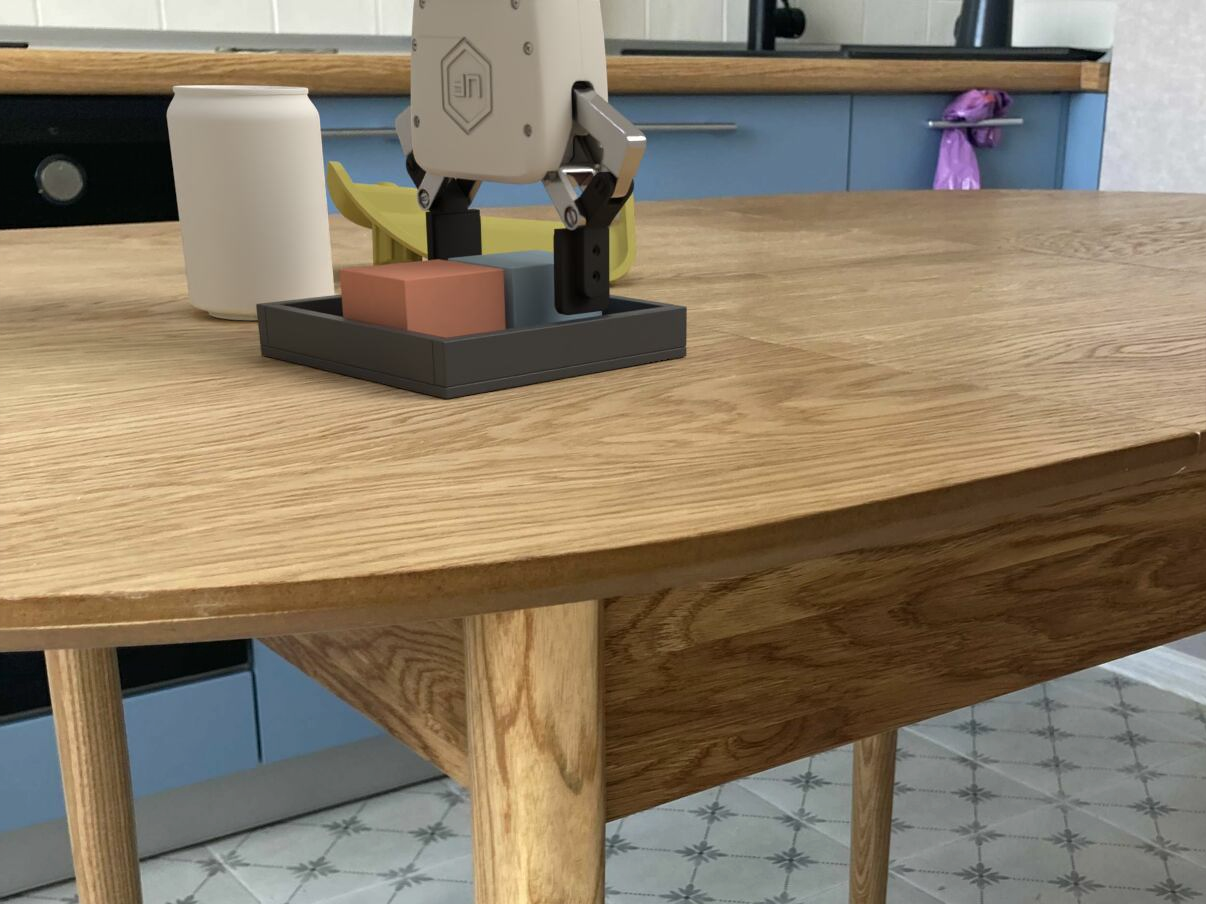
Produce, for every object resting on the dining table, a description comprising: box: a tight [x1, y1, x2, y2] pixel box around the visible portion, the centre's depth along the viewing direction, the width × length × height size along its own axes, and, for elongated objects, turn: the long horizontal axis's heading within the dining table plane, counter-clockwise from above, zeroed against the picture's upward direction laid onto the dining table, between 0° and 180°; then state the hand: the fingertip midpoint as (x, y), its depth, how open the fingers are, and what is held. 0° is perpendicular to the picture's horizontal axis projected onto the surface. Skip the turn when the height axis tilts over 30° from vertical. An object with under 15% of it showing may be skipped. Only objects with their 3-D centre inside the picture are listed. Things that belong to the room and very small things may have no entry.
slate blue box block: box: [448, 250, 602, 329], centre depth 79 cm, size 5×6×4 cm
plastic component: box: [325, 160, 638, 285], centre depth 104 cm, size 20×7×10 cm
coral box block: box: [339, 259, 506, 338], centre depth 75 cm, size 5×6×4 cm
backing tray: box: [256, 294, 688, 400], centre depth 78 cm, size 15×16×2 cm
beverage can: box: [166, 84, 336, 321], centre depth 87 cm, size 8×8×12 cm
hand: (517, 300), depth 79 cm, fingers open, 9 cm apart
